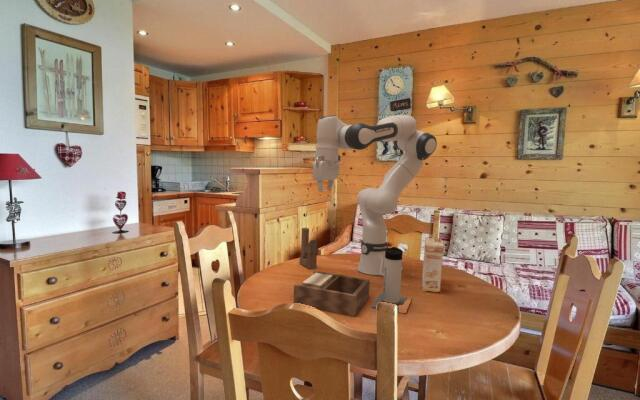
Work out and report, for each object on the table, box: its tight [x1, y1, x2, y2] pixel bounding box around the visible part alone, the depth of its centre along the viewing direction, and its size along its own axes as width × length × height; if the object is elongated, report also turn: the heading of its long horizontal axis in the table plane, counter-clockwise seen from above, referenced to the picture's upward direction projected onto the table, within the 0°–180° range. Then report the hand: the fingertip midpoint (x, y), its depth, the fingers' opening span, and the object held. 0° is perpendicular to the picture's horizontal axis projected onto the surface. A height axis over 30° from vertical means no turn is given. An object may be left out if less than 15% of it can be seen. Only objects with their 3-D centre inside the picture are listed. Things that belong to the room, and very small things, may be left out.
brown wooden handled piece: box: [299, 227, 318, 270], centre depth 173 cm, size 4×11×18 cm, turn 32°
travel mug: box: [382, 246, 404, 305], centre depth 130 cm, size 6×7×20 cm
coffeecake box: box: [421, 237, 445, 292], centre depth 151 cm, size 15×7×20 cm, turn 164°
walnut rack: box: [293, 270, 371, 317], centre depth 132 cm, size 23×19×7 cm
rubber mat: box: [371, 292, 409, 312], centre depth 131 cm, size 14×12×1 cm
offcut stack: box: [301, 273, 332, 289], centre depth 135 cm, size 8×13×8 cm, turn 158°
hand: (325, 191), depth 145 cm, fingers open, 8 cm apart
